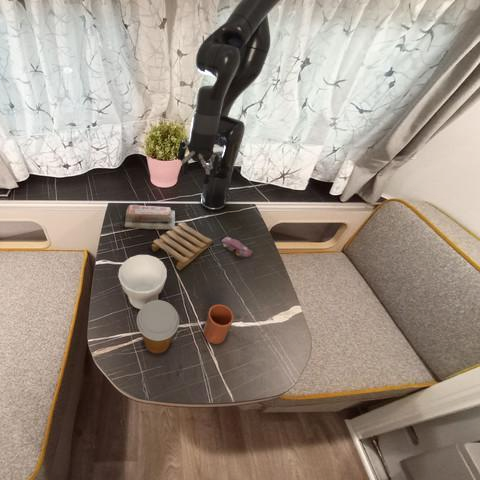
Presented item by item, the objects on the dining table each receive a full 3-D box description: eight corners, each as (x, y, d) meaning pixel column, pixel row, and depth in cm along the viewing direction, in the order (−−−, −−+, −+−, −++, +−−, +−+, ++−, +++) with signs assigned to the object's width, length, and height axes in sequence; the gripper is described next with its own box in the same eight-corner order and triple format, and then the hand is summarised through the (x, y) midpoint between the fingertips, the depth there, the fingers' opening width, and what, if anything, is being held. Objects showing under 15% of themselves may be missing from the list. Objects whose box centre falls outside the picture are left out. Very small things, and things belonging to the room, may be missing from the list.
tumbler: (212, 318, 73) (218, 300, 67) (230, 332, 70) (238, 315, 64) (198, 332, 70) (203, 315, 64) (217, 348, 67) (224, 331, 61)
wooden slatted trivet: (182, 226, 99) (183, 220, 96) (211, 244, 92) (212, 238, 90) (151, 249, 90) (151, 242, 88) (180, 271, 84) (181, 264, 82)
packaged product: (123, 217, 94) (127, 200, 101) (124, 228, 97) (128, 210, 104) (175, 220, 93) (175, 202, 100) (174, 230, 97) (175, 212, 104)
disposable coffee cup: (139, 322, 72) (138, 297, 63) (175, 324, 71) (179, 299, 63) (136, 359, 65) (134, 336, 56) (176, 361, 65) (180, 338, 56)
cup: (161, 320, 72) (162, 296, 64) (115, 311, 74) (111, 288, 66) (168, 282, 81) (170, 258, 73) (128, 275, 82) (125, 251, 74)
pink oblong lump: (220, 248, 93) (218, 240, 87) (228, 238, 94) (226, 229, 88) (245, 264, 89) (245, 256, 83) (253, 253, 89) (254, 245, 83)
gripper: (232, 132, 76) (219, 182, 88) (191, 117, 82) (183, 166, 93) (219, 140, 72) (207, 191, 83) (176, 123, 78) (170, 174, 89)
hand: (195, 178), depth 88 cm, fingers open, 8 cm apart
